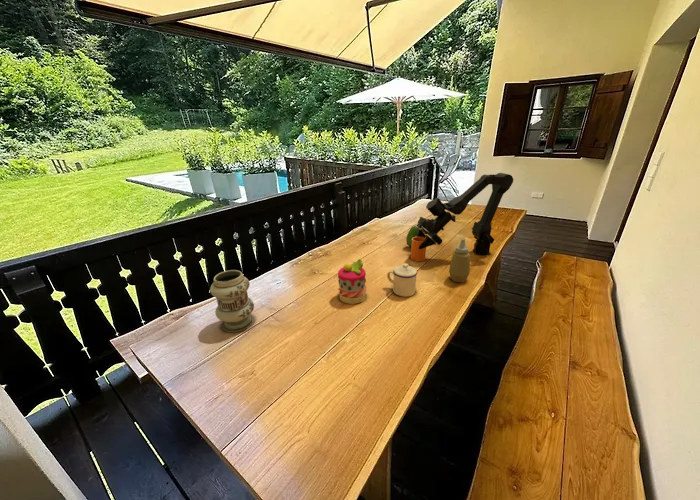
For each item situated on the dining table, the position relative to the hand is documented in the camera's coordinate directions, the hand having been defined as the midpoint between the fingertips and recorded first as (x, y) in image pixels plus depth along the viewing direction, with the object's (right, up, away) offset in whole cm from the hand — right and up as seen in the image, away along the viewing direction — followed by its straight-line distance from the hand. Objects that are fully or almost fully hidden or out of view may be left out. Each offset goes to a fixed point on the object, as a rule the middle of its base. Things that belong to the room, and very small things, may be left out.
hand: (416, 245), depth 144 cm
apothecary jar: (-70, -27, -43) cm, 86 cm away
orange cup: (+1, -6, +3) cm, 7 cm away
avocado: (+2, -1, +16) cm, 16 cm away
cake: (-31, -20, -29) cm, 47 cm away
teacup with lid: (-12, -18, -25) cm, 33 cm away
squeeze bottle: (+14, -14, -18) cm, 27 cm away
